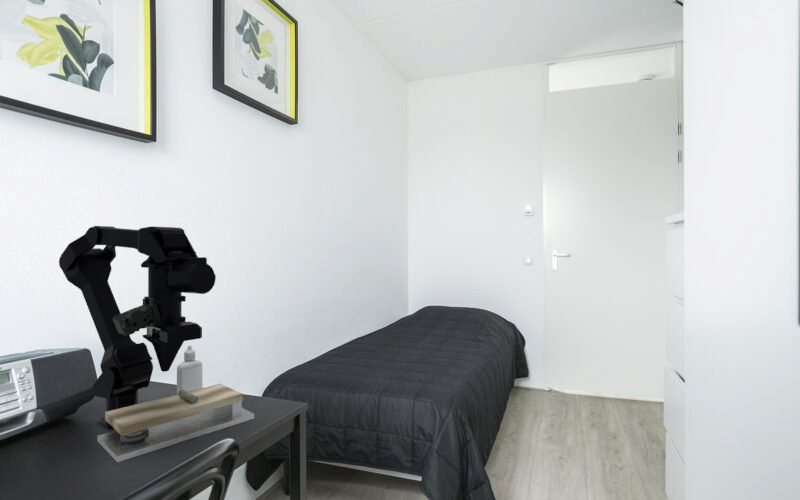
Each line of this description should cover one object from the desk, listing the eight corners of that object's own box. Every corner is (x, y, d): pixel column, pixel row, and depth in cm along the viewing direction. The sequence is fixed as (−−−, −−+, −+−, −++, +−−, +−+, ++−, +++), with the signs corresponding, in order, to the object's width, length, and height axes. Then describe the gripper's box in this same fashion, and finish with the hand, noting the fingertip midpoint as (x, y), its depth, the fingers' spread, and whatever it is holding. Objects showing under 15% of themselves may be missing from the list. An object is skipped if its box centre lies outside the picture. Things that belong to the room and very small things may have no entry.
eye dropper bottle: (202, 396, 105) (202, 346, 105) (176, 399, 103) (176, 349, 103) (202, 390, 109) (202, 343, 109) (177, 394, 107) (177, 345, 107)
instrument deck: (105, 420, 81) (104, 404, 81) (220, 390, 97) (220, 377, 97) (121, 435, 74) (121, 418, 74) (242, 400, 90) (242, 387, 90)
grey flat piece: (97, 441, 81) (97, 420, 81) (227, 404, 99) (227, 388, 99) (116, 462, 73) (116, 439, 73) (254, 418, 91) (254, 400, 91)
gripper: (101, 290, 84) (101, 370, 85) (137, 299, 72) (137, 392, 73) (162, 286, 93) (162, 359, 93) (203, 293, 81) (203, 377, 81)
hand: (165, 371), depth 85 cm, fingers closed
